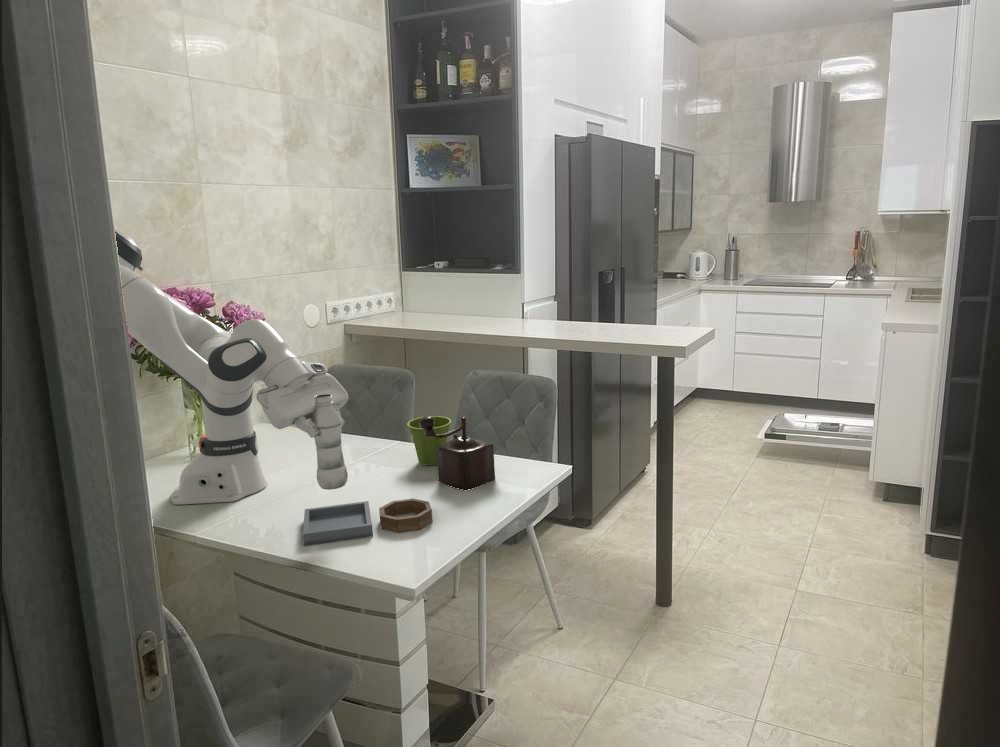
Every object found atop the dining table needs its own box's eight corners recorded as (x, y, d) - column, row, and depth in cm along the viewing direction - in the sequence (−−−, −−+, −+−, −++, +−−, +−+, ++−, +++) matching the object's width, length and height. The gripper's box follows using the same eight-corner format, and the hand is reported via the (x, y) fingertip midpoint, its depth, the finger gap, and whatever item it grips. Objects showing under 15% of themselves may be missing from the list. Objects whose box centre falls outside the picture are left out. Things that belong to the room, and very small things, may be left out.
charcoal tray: (304, 546, 152) (302, 534, 152) (305, 520, 166) (304, 509, 165) (373, 536, 155) (372, 524, 155) (369, 511, 169) (368, 501, 168)
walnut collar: (382, 535, 156) (381, 521, 155) (379, 515, 166) (378, 502, 166) (434, 528, 158) (433, 514, 157) (427, 509, 168) (427, 496, 168)
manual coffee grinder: (466, 470, 193) (462, 403, 189) (496, 479, 185) (492, 409, 182) (420, 487, 182) (414, 417, 179) (450, 498, 175) (445, 424, 171)
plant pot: (401, 464, 200) (397, 424, 198) (430, 452, 209) (428, 414, 207) (433, 472, 193) (430, 430, 191) (462, 459, 202) (460, 419, 200)
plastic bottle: (317, 495, 154) (306, 401, 150) (318, 484, 160) (307, 394, 157) (349, 490, 155) (339, 397, 152) (348, 480, 162) (338, 391, 158)
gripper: (258, 382, 148) (299, 434, 145) (329, 362, 165) (367, 409, 162) (245, 402, 151) (285, 453, 148) (316, 381, 168) (353, 427, 165)
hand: (329, 430), depth 155 cm, fingers closed on plastic bottle, 6 cm apart
